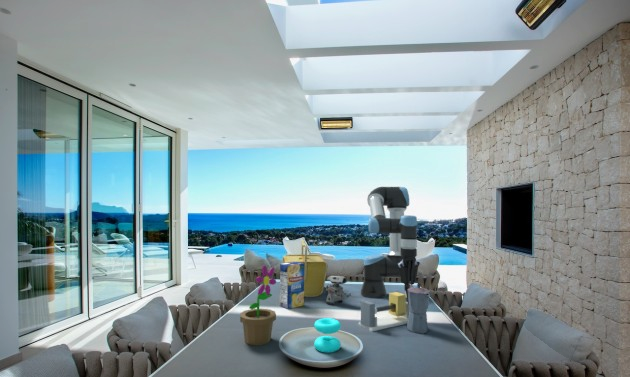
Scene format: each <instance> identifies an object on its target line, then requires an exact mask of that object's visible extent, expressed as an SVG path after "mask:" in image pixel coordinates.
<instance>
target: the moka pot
mask: <svg viewBox="0 0 630 377" xmlns="http://www.w3.org/2000/svg"><path fill="white" fill-rule="evenodd" d="M421 285H422V284H421V283H417V284H416V286H417V287H416V286H414V285H412V286H410V285H409V284H408V286H407V287H406V295H407V298H406V302H408V305H409V307H410V311H409V318H408V323H407V324H406V325H407V326H406V328H407V330H408V331H410V332H411V333H416V334H425V333H427V332H428V331H429V325H428V315H427V311H428V309H429V303H430V296H431V290H429V289H428V288H425V287H421ZM408 288H409V289H408Z"/></svg>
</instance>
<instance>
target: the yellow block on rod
mask: <svg viewBox="0 0 630 377" xmlns="http://www.w3.org/2000/svg"><path fill="white" fill-rule="evenodd" d="M406 302H407V298H406V295H405V293H403V292H402V293H401V292H397V291H395V292H389V293H388V305H393V304H396V309H391V310H388V314H390V315H391V316H392V315H394V316H397V317H399V316H404V315H406Z"/></svg>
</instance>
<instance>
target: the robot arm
mask: <svg viewBox="0 0 630 377" xmlns="http://www.w3.org/2000/svg"><path fill="white" fill-rule="evenodd" d="M367 204H368V206H369V208H370V217H371V218H369V219H368V232H369V233H373V234H389V252H388V253H387V254H386V257H385V256H384V255H383V254H370V255H367V256H365V257H364V259H363V282H362V286H361V288H360V295H361V296H362V297H367V298H370V299H371V298H374V299H377V298H385V297H387V289H386V285H385V283H384V282H385V280H384V278H393V279H394V278H396V279H397V278H398V279H400V282H401V284H404V291H405V293H404V294H405V295H406V287H407V286H408V284H409V285H410V286H413V285H415V283H416V282H417V275H418V271H419V266H420V264H421V262H420V261H417V255H418V252H417V251H418V249H417V247H418V238H417V237H418V236H417V234H418V229H417V228H418V220H417V216H416V215H405V212H406V211H407V207H409V206H410V195H409V191H408V189H407V187H405V186H377V187H376V188H374V189H373V190H371V191H370V193H368V195H367ZM385 207H386V210H388V212H389V217H388V218H387V216H386V213H385ZM408 289H409V288H408ZM406 299H407V295H406Z"/></svg>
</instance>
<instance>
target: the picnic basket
mask: <svg viewBox="0 0 630 377" xmlns="http://www.w3.org/2000/svg"><path fill="white" fill-rule="evenodd" d="M300 246H301V247H300V248H301V249H300V250H301V254H284V255H283V257H282V259H281V261H282V264H283V263H291V262H300V263H304V298H306V297H307V298H308V297H310V298H311V297H313V298H314V297H319V296H321V295H322V294H323V292H324V289H325V283H326V279H327V274H328V268H329V267H328V266H329V265H328V263H327V262H326V260H324V258H323V256H322V255H320V254H316V253H315V254H314V253H313V254H308V245H307V244H306V242H305V241H304V239H302V240H301V245H300Z"/></svg>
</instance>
